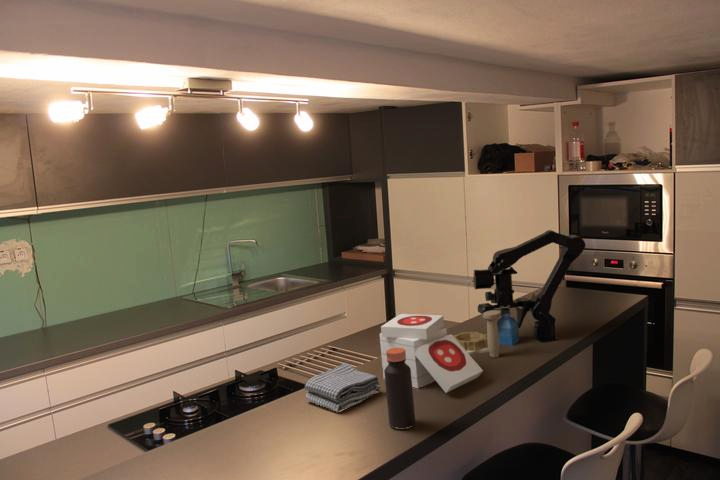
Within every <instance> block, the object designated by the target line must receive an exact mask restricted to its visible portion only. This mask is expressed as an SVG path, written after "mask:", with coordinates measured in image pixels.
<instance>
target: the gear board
mask: <svg viewBox="0 0 720 480" xmlns="http://www.w3.org/2000/svg"><path fill="white" fill-rule="evenodd" d="M452 336H453V337H454V338H455V339H456V340H457V341H458V342H459V344H460V345H461V346H462V347H463V348H464V349H465V350H466V352H467V353H468V354H469V355H470V356H472V355H478V354H485V353H489V350H488V342H487V333H481V332H479V331H467V332H466V331H461V332H460V333H458V334H457V333H456V334H453V335H452Z"/></svg>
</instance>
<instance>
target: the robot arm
mask: <svg viewBox="0 0 720 480" xmlns="http://www.w3.org/2000/svg"><path fill="white" fill-rule="evenodd" d="M550 244H556V245H559V246H560V252H559V257H558V258H557V261H556V263H555V265H554V267H553V268H552V270H551V272H550V274H549V276H548V278H547V280H546V281H545V283H544V285H543V287H542V289H541V291H540V292H539V293H538V294H534V293H532V295H531V297H530V298H527V297H521V298H520V297H519V298H516V299H515V301H514V295H513V294H514V293H515V290H514V289H513V276H512V275H517V274H518V271H517V270H515V269H514V267H513V265H515V264H516V263H518V261H519V260H520V259H522V258H523V257H526V256H528V255H530V254H531V253H533V252H536V251H538V250H539V249H542V248H544V247H547V246H548V245H550ZM585 249H586V243H585V240H584V238H582V237H580V236H578V235H574V234H569V235H566V234H562V233H559V232H556V231H554V230H552V229H548V230H545V231H544V232H543V233H541V234H539V235H537V236H535V237H533V238H531V239H529V240H527V241H524V242H523V243H521V244H518V245H516V246H512V247H508V248H504V249H501V250H497V251H495V252H494V254H493V256H492V261H491V262H490V264H488V267H487V269H486V268H485V269H474V270H473V279H472V280H473V287H474V290H483V289H484V290H485V289H492V287H494V286H495V288H494V290H493V291H494V293H493V292H492V291H486V292H485V294H484V296H485V297H484V298H485V301H486V303H479V304H478V306H477V313H480V314H481V315H483V313H484V312H487V311H491V310H497V311H501V309H507V308H508V309H512V308H515V309H516V321H517V323H518V328H519V329H521V327H522V325H523V321H524V319H525V317H526V316H527V314H528V313H529V314H530V316H531V317H532V318H533V319H534V320H536V321H534V323H533V324H534V326H533V328H532V329H533V336H532V338H533V339H535V340H537V342H540V343H545V342H546V343H547V342H551V341H558V340H559V338H558V337H556V336H557V335H556V321H557V320H556V318H555V317H554V315H552V314H551V313H550V311H551V309H552V303H553V302H552V301H553V299H554V297H555V294H556V292H557V291H558V289H559V287H560V285H561V283H562V281H563V280H564V277H565V276H566V274H567V272H568V270H569V268H570V267H571V265H572V263H573V262H575V260H577V259H578V258H579V257H580V256H581V254H582V253H583V252H584V251H585ZM489 302H491V303H489Z"/></svg>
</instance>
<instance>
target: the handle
mask: <svg viewBox="0 0 720 480" xmlns="http://www.w3.org/2000/svg"><path fill="white" fill-rule="evenodd" d="M500 316H501V310H491V311H487V312H484V313H483V314H482V319H484V320H486V331H487V332H486V334H487V342H488V350H489V352H488V353H489V357H490V358H494V359H495V358H499V356H500V346H501V344H500V342H499V333H498V325H497V321H498V320H499V319H500Z"/></svg>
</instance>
